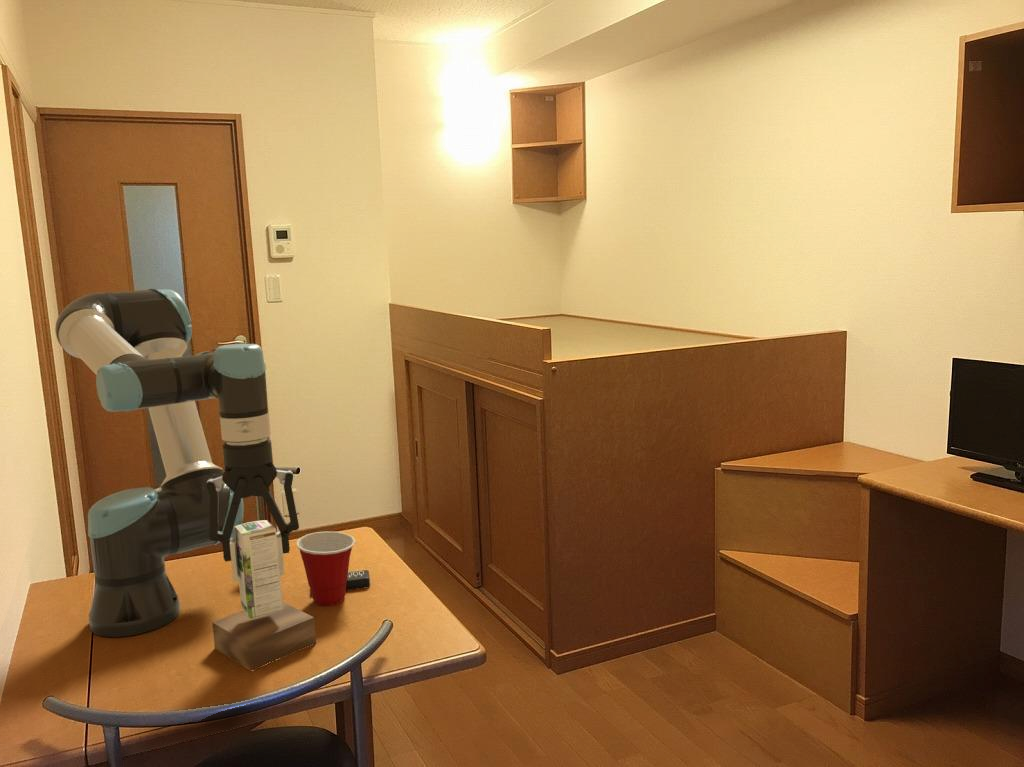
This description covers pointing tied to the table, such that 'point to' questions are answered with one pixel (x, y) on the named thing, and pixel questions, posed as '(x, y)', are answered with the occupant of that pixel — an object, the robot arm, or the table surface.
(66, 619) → the table surface
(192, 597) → the table surface
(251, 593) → the syrup box
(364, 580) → the multiport hub
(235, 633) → the walnut block
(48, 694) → the table surface
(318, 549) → the plastic cup
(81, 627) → the table surface
